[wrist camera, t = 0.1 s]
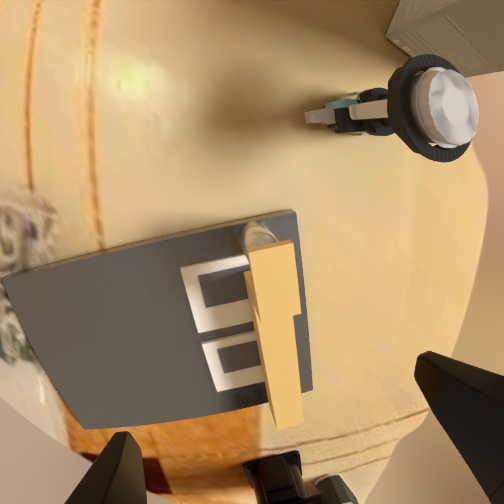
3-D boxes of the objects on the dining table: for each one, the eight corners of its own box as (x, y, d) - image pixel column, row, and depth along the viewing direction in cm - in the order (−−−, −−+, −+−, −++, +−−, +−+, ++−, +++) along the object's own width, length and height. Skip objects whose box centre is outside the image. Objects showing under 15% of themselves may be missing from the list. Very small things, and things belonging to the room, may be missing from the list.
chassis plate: (309, 382, 27) (312, 389, 26) (85, 422, 24) (84, 429, 24) (291, 209, 21) (295, 212, 21) (7, 275, 19) (1, 280, 18)
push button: (306, 155, 20) (393, 169, 11) (297, 79, 19) (377, 38, 9) (388, 149, 21) (491, 163, 12) (380, 80, 19) (481, 61, 10)
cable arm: (235, 227, 20) (248, 252, 15) (270, 220, 20) (293, 243, 15) (269, 406, 25) (283, 448, 21) (294, 400, 25) (311, 440, 21)
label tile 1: (288, 372, 25) (289, 375, 24) (216, 389, 24) (217, 392, 24) (281, 323, 23) (283, 326, 23) (201, 341, 22) (201, 345, 22)
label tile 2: (280, 312, 23) (281, 314, 22) (198, 330, 22) (198, 333, 22) (270, 247, 21) (272, 249, 21) (180, 267, 20) (180, 269, 20)
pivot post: (267, 242, 22) (289, 272, 17) (238, 249, 22) (253, 280, 17) (262, 214, 21) (285, 237, 16) (233, 221, 21) (246, 245, 16)
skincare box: (436, 84, 20) (604, 82, 5) (373, 30, 18) (546, -31, 3) (457, 23, 18) (593, 1, 4) (401, -28, 16) (534, -87, 2)
